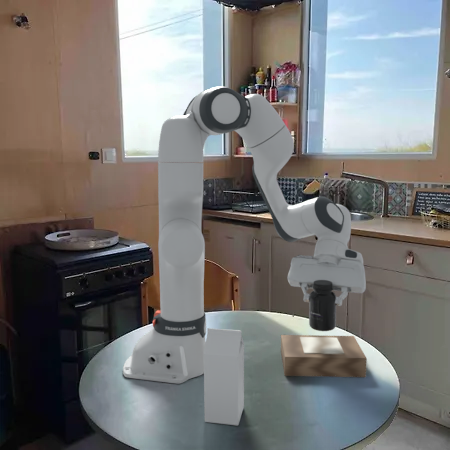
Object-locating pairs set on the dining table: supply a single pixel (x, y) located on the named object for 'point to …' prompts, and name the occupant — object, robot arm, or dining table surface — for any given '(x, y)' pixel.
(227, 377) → the milk carton
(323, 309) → the supplement bottle
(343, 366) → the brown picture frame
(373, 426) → the dining table surface
